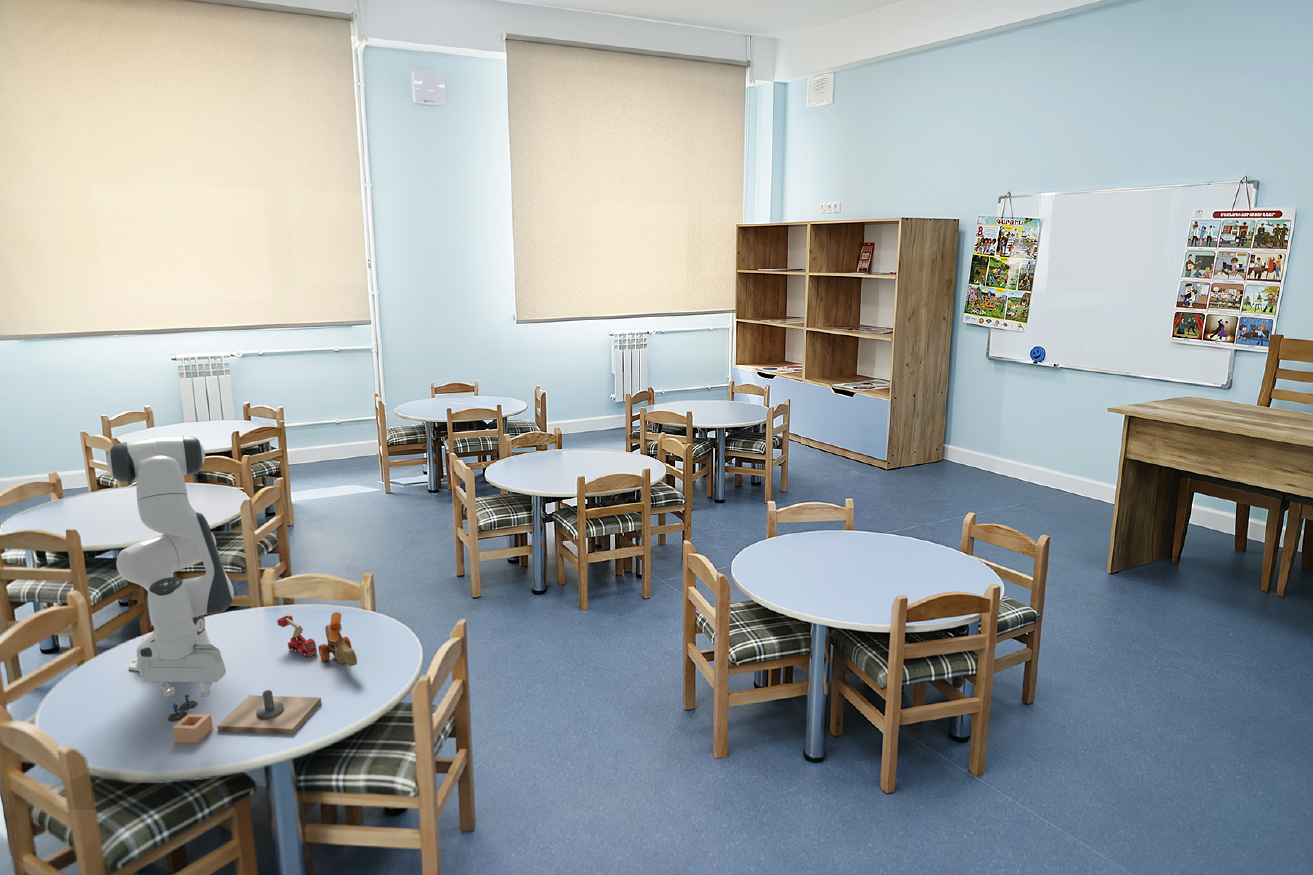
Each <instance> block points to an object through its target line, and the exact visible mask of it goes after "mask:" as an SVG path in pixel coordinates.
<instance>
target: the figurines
mask: <svg viewBox="0 0 1313 875" xmlns="http://www.w3.org/2000/svg"><path fill="white" fill-rule="evenodd" d="M190 694H191V693H190V692H189V693H188V694H187V693H185V695H184V698H185V699H184V700H185V702H183V703H182V704H181V705H179V707H178V704H176V702H174V704H173V705H172V708H173V711H174V713H170V714H169V715H168V719H167V721H168V722H170V723H172V722H173V723H174V722H179V721H181V720H182V719H183V718H184V717H185V716H186V715H187V714H188V712H187V711H190V710H194V709H195V708H196V707H197V705H198V701H195V700H194V699H192V700H189V698H190ZM179 710H180V711H179Z"/></svg>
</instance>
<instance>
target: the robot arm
mask: <svg viewBox="0 0 1313 875" xmlns="http://www.w3.org/2000/svg"><path fill="white" fill-rule="evenodd" d="M205 460H206V454H205V449H204V446H203V444H202V443H201V442H200V439H198V438H197V437H195V436H188V435H184V436H180V437H179V436H178V437H177V436H174V437H173V436H169V437H168V436H167V437H166V436H161V437H155V438H149V439H141V440H135V441H131V442H127V441H125V442H124V441H123V442H120V443H116V444H114V445H113V446H112V447H111V448H109V453H108V454H107V461H106V463H107V464H106V465H107V468H108V469H107V470H108V471H109V473H110V474H111V475H112V477H113V479H115V480H116V481H118V482H120V483H127V484H131V485H132V482H136V486H135V488H136V490H135V491H136V501H137V502H136V504H137V510H138V515H139V517H140V521H141V522H142V524H143V525H144V526H145V527H147V528H148V529H149V530H151V531H153V532H156V533H158V534H159V533H160V534H161V535H158V536H155V537H151V538H148V539H145V540H141V541H138V542H136V543H134V544H131V545H129V546H128V547H126V548H123V549H121V551H120V552H119V554H118V555H117V559H116V569H117V572H118V573H119V574H120V576H121V577H122V578H123V579H125V580H126V581H128V582H130V583H133V584H136V585H139V586H141V587H143V588H144V589H145V590H146V591H147V596H146V597H145V608H146V613H147V618H148V620H150V623H149V625H150V626H149V627H150V628H152V627H153V631H152V632H150V633H149V634H148V635H147V636H145V638H144V639H143V640H141V641H140V642H139V644H138V646H137V647H136V657H134V658H133V659H132V660H131V662H129V665H128V670H130V671H135V672H139V675H140V676H139V677H140V678H141V679H142V681H144V682H147V683H148V682H150V683H151V682H152V683H153V682H156V683H157V686H158V687H159V689H161V690H162V691H163V694H164V697H165V698H172V697H173V696H174V695H175V693H176V691H175V687H172V686H171V685H170V683H201V684H202V686H203V688H202V689H201V690H200V691H199V694H200V697H201V698H209V697H210V695H211V693H212V692H211V687H212V685H213V683H218V682H219V681H220V680H221V679H223V678H224V677H225V676H226V672H227V669H226V666H225V663H224V660H223V657H222V654H221V650H220V649H219V648H217V647H216V646H215V645H214V644H212V643H211V641H210V638H209V636H208V633H207V630H206V623H205V622H206V619H205V616H204V615H213V614H214V615H215V614H222V613H224V612H225V611H226V610H228V609H229V607H230V606H231V605H232V604H233V603H234V598H235V590H234V586H233V583H232V582H231V580H230V578H229V577H228V575H227V572H226V570H225V568H224V564H223V561H222V558H221V555H220V553H219V552H220V551H219V550H218V547H217V540H216V537H215V535H214V533H213V532H212V531H211V527H210V525H209V523H208V521H207V519H206V517H205V516H204V514H203V513H200V512H197V511H195V509H194V508H193V506H192V505H191V504H190V500H189V497H188V490H187V485H186V481H185V477H184V475H187V476H191V475H193V474H196V473H199V472H200V471H201V470H202V469H203V466H204V463H205ZM201 562H202V563H203V566H204V569H205V574H203V575H201V576H200V575H199V576H195V577H190V578H186V579H182V578H181V577H176V576H174V572H177V571H180V570H182V569H186V568H188V567H192V566H193V565H197V564H199V563H201Z"/></svg>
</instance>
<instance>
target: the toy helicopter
mask: <svg viewBox="0 0 1313 875" xmlns="http://www.w3.org/2000/svg"><path fill="white" fill-rule="evenodd" d="M341 619H342V613H341V612H340V611H339V612H338V611H337V612H333V613H331V616H330V623H329V624H327V625H326V626H325V628H324V629H325V630H324V631H325V636H326V640H327V644H326V643H323V644H319V646H318V654H319V657H320V659H321V660H322V661H323V662H325V661H329V660H330V658H331V656H330V655H331V654H330V653H332V655H333V656H334V658H335V659H337V662H338V664H339V665H343V664H347V666H348V667H353V666H356V665H357V664H358V659H357V656H356V652H355V650H354V649H353V648H352V643H351V640H350V638H349V637H348V636H342V634H341V631H342V627H343V626H342V624H341V621H342V620H341Z"/></svg>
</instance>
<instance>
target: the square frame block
mask: <svg viewBox="0 0 1313 875" xmlns="http://www.w3.org/2000/svg"><path fill="white" fill-rule="evenodd" d="M213 729H214V727H213V721H212V716H211V714H208V713H207V714H205V713H204V714H203V713H202V714H199V713H187V715H186V716H185V717H184V718H182V719H181V720H178V721H177V723H176V724H174V726H173V727H172V734H173V738H174V743H188V744H198V743H200V741H202V740H203V739H204V738H205V737H206V736H207V735H208V734H209V733H210V732H212V730H213Z"/></svg>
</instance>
